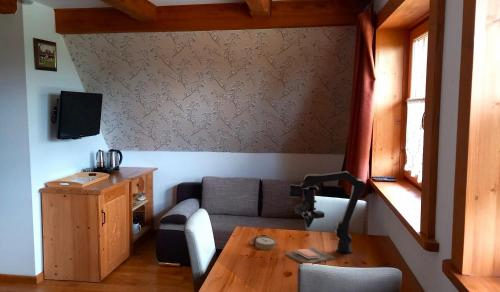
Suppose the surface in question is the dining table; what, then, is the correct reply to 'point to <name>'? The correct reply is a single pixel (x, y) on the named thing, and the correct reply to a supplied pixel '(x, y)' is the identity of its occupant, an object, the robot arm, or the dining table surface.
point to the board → (302, 259)
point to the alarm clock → (264, 242)
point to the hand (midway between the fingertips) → (308, 227)
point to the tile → (307, 253)
